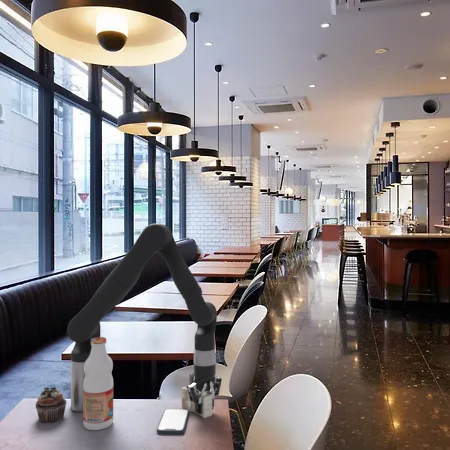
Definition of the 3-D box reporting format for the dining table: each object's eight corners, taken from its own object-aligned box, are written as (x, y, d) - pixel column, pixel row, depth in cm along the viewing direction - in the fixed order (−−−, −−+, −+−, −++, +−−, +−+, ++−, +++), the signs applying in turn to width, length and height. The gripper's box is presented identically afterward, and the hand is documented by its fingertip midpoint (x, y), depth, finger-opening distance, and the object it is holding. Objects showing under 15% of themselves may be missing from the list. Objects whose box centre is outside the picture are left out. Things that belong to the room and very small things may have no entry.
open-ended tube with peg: (181, 407, 150) (181, 387, 150) (193, 403, 154) (193, 384, 154) (202, 418, 141) (202, 398, 141) (213, 414, 145) (214, 394, 145)
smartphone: (164, 413, 147) (155, 435, 131) (164, 408, 147) (155, 430, 131) (189, 413, 147) (183, 435, 131) (189, 409, 147) (183, 430, 131)
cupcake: (66, 421, 140) (66, 391, 140) (34, 426, 136) (34, 395, 136) (66, 409, 149) (66, 381, 149) (36, 414, 145) (36, 385, 145)
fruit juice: (79, 422, 139) (80, 337, 139) (108, 415, 144) (108, 333, 144) (87, 434, 131) (87, 344, 131) (117, 426, 136) (117, 339, 136)
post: (188, 407, 150) (188, 373, 150) (192, 406, 151) (192, 372, 151) (191, 408, 149) (191, 375, 149) (194, 407, 150) (194, 374, 150)
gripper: (213, 354, 152) (213, 402, 152) (181, 363, 143) (181, 413, 143) (227, 359, 146) (227, 408, 146) (194, 369, 137) (194, 421, 137)
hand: (204, 410), depth 145 cm, fingers open, 4 cm apart
